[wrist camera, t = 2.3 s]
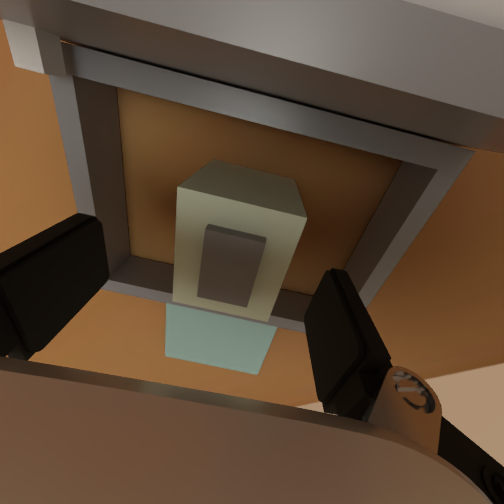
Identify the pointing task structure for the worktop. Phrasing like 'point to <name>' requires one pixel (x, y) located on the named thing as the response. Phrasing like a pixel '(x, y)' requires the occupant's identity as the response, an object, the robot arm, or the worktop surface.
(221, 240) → the block
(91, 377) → the robot arm
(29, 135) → the worktop surface
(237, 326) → the mat
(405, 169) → the grey open box
